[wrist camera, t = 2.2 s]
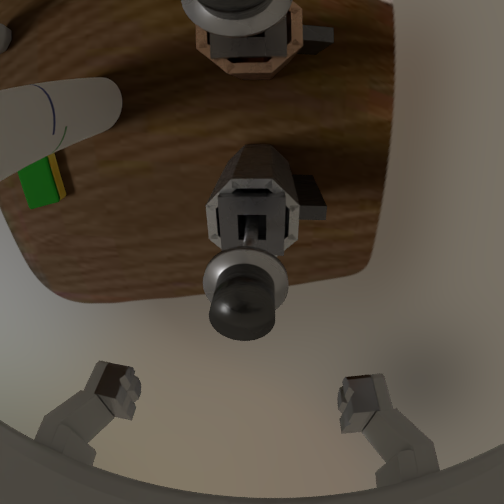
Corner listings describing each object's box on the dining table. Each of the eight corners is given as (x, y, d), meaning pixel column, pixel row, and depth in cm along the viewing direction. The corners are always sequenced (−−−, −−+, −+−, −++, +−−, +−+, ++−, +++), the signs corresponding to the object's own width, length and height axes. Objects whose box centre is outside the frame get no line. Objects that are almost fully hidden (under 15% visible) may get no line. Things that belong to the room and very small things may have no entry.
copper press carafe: (223, 24, 23) (192, -15, 12) (311, 24, 22) (340, -15, 11) (224, 80, 27) (193, 75, 15) (311, 81, 26) (343, 76, 15)
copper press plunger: (219, 9, 15) (165, -65, 5) (281, 7, 15) (296, -75, 4) (220, 61, 17) (161, 31, 7) (282, 60, 17) (302, 23, 7)
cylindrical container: (126, 77, 26) (-74, 115, 5) (119, 134, 30) (-56, 240, 9) (77, 78, 26) (-103, 126, 4) (73, 131, 29) (-89, 222, 8)
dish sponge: (38, 203, 35) (29, 209, 33) (16, 121, 28) (5, 124, 26) (68, 194, 35) (59, 201, 33) (45, 104, 27) (34, 107, 25)
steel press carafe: (227, 144, 30) (201, 183, 19) (310, 145, 30) (337, 184, 19) (229, 200, 34) (209, 266, 23) (307, 201, 33) (327, 267, 22)
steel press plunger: (225, 182, 22) (187, 279, 12) (282, 183, 22) (293, 281, 12) (228, 232, 25) (201, 347, 14) (280, 232, 25) (287, 350, 14)
